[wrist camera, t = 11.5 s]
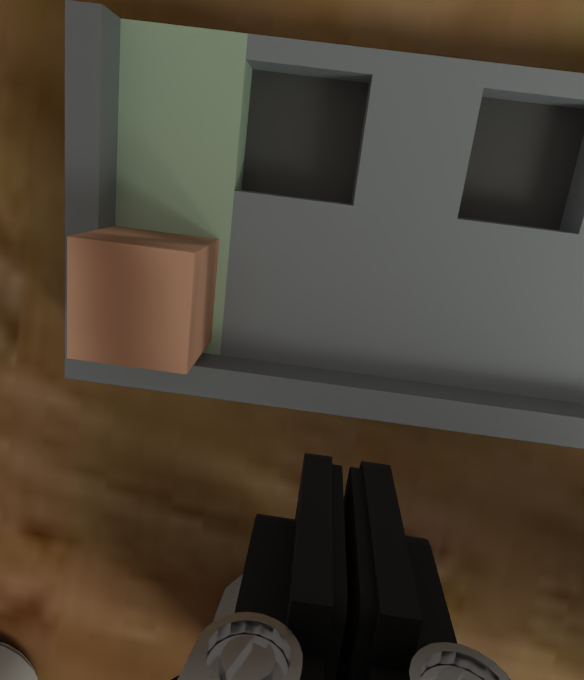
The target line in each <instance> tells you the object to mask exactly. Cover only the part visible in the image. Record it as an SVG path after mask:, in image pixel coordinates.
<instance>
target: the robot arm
mask: <svg viewBox="0 0 584 680" xmlns="http://www.w3.org/2000/svg"><path fill="white" fill-rule="evenodd" d="M172 680H511V679H510V678H509V676H508V675H507V673H505V672H504V671H503V670H502V669H501V668H500V667H499V666H498V665H497V664H496V663H495V662H494V661H493V660H491V659H489V658H488V657H486V656H485V655H483V654H482V653H480V652H479V651H477V650H474V649H472V648H469V647H466V646H464V645H461V644H457V641H456V637H455V633H454V630H453V626H452V622H451V619H450V615H449V612H448V608H447V604H446V601H445V597H444V593H443V590H442V586H441V583H440V579H439V575H438V572H437V568H436V564H435V561H434V557H433V554H432V550H431V546H430V544H429V541H428V540H427V539H423V538H417V537H410V536H405V533H404V528H403V523H402V519H401V514H400V509H399V505H398V500H397V495H396V490H395V486H394V481H393V476H392V472H391V467H390V465H385V464H378V463H371V462H364V461H362V462H361V464H360V468H354V467H350V469H349V473H348V479H347V485H346V490H345V496H344V498H343V475H342V466H340V465H333V464H332V457H329V456H322V455H315V454H308V453H305V455H304V461H303V468H302V475H301V482H300V489H299V496H298V503H297V509H296V516H295V519H288V518H282V517H275V516H268V515H261V514H257V515H256V518H255V522H254V527H253V531H252V536H251V540H250V545H249V549H248V554H247V558H246V563H245V567H244V572H243V576H242V581H241V585H240V590H239V594H238V599H237V603H236V608H235V612H234V613H231V614H229V615H226V616H223V617H220V618H218V619H216V620H215V621H214V622H212V623H211V624H209V625H208V626H207V627H206V628H205V629H204V630H203V632H202V633H201V635H200V636H199V637H198V639H197V641H196V643H195V645H194V647H193V649H192V651H191V653H190V655H189V657H188V659H187V661H186V663H185V665H184V667H183V669H182V671H181V673H180V675H179V676H177V677H175V678H173V679H172Z"/></svg>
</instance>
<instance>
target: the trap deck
mask: <svg viewBox="0 0 584 680" xmlns="http://www.w3.org/2000/svg"><path fill="white" fill-rule="evenodd" d="M113 226H120V227H127V228H135V229H143V230H151V231H158V232H166V233H174V234H182V235H190V236H197V237H205V238H213V239H219V252H218V264H217V276H216V288H215V301H214V313H213V325H212V338H211V341H210V343H209V344H208V345H207V347H206V348H205V350H204V351H203V352H202V354H201V355H200V357H199V358H198V359H197V361H196V362H195V363H194V365H193V366H192V368H191V369H190V370H189V372H188V373H187V374H180V373H172V372H165V371H157V370H150V369H143V368H135V367H128V366H121V365H113V364H106V363H98V362H91V361H84V360H76V359H69V358H67V236H71V235H76V234H80V233H85V232H89V231H94V230H99V229H103V228H108V227H113ZM65 378H67V379H74V380H82V381H89V382H96V383H104V384H111V385H118V386H126V387H133V388H140V389H148V390H155V391H162V392H170V393H177V394H184V395H192V396H199V397H206V398H214V399H221V400H228V401H236V402H243V403H251V404H258V405H265V406H273V407H280V408H287V409H295V410H302V411H309V412H317V413H324V414H331V415H339V416H346V417H353V418H361V419H368V420H375V421H383V422H390V423H397V424H405V425H412V426H419V427H427V428H434V429H441V430H449V431H456V432H463V433H471V434H478V435H485V436H493V437H500V438H507V439H515V440H522V441H529V442H537V443H544V444H551V445H559V446H566V447H573V448H581V449H584V73H577V72H569V71H560V70H552V69H543V68H535V67H526V66H518V65H510V64H501V63H493V62H484V61H476V60H467V59H459V58H451V57H442V56H434V55H425V54H417V53H408V52H400V51H392V50H383V49H375V48H366V47H358V46H349V45H341V44H333V43H324V42H316V41H307V40H299V39H290V38H282V37H273V36H265V35H257V34H248V33H240V32H231V31H223V30H214V29H206V28H198V27H189V26H181V25H172V24H164V23H155V22H147V21H139V20H130V19H122V18H120V17H118V16H117V15H116V14H114V13H113V12H112V11H111V10H109V9H108V8H107V7H106V6H104V5H103V4H98V3H90V2H81V1H73V0H65Z"/></svg>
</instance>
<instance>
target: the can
mask: <svg viewBox="0 0 584 680" xmlns="http://www.w3.org/2000/svg"><path fill="white" fill-rule="evenodd" d="M0 680H38V678H37V676H36V673H35V671H34V668H33V666H32V664H31V662H30V661H29V660H28V659H27V658H26V657H25V656H24V655H23V654H22V653H21V652H20V651H18V650H17V649H15V648H14V647H12V646H10V645H8V644H5V643H2V642H0Z"/></svg>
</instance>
